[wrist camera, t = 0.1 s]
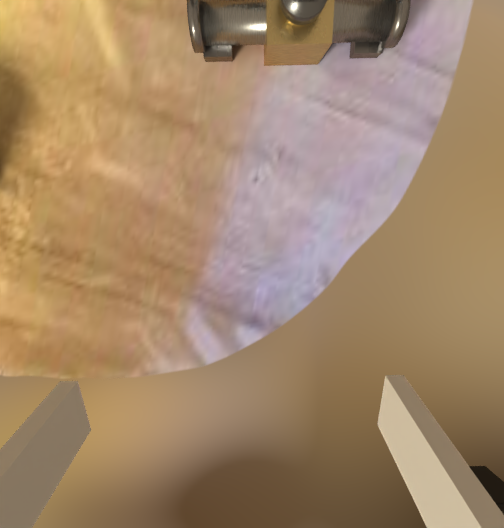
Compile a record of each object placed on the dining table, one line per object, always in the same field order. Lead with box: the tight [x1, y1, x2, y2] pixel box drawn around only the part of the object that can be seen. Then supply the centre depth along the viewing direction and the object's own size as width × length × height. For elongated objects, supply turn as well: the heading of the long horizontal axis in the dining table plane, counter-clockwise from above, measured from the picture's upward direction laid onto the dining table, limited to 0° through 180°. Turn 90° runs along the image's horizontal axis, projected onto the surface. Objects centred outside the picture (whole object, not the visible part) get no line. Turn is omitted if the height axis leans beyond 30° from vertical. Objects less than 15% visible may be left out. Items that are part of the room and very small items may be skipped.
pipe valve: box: [187, 0, 410, 66], centre depth 28 cm, size 6×21×7 cm, turn 91°
